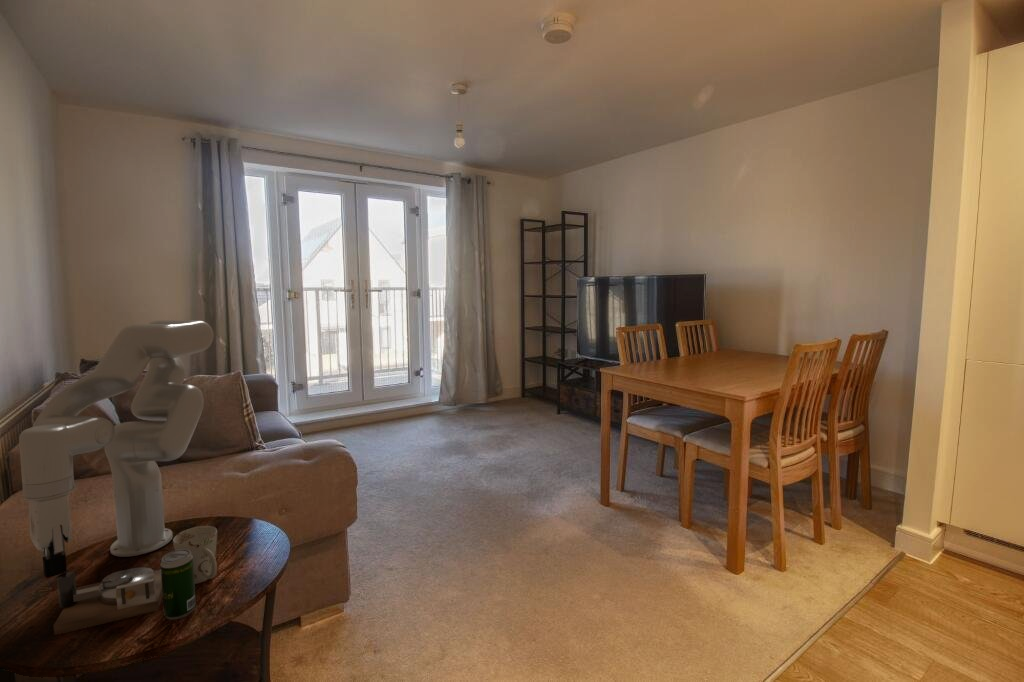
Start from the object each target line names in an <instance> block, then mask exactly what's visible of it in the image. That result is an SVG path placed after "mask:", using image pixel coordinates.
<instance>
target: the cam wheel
mask: <svg viewBox="0 0 1024 682" xmlns="http://www.w3.org/2000/svg"><path fill="white" fill-rule="evenodd" d="M154 571H155V570H154V569H152V568H151V567H145V566H144V567H134V568H130V569H129V568H128V569H124V570H119V571H114V572H112V573H110V574H108V575H106V576H105V577H104V578H103V579H102V580H101V582H102V583H101V584H100V586H96V587H91V588H86V589H82V590H77V591H76V587H77V585H76V584H77V583H76V573H75V572H74V571H66V572H65V573H62V574H59V575H57V576H56V582H57V584H56V585H57V593H58V594H57V595H58V603H59V608H60V609H64V608H67V607H70V606H72V605H74V604H76V603H77V601H80V600H84V599H89V598H93V597H98V596H100V601H101V602H102V603H104V604H109V605H113V604H117V597H116V587H117V586H121V585H125V584H130V583H134V582H139V581H144V580H148V579H153V578H154ZM154 581H155V579H154Z"/></svg>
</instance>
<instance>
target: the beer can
mask: <svg viewBox="0 0 1024 682" xmlns="http://www.w3.org/2000/svg"><path fill="white" fill-rule="evenodd" d="M159 566H160V570H161V581H162V594H163V597H162V605H163V615H164V616H165V618H166V619H167V620H171V621H176V620H181V619H183V618H185V617H188V616H190V615H191V614H192V613H193V612H194V610H195V607H196V606H197V602H196V601H197V599H196V586H195V585H196V584H195V582H194V567H193V555H192V554H191V551H190V550H188V549H180V550H175V549H174V550H173V551H170V552H168V553H166V554H164V555H163V556H162V557H161V561H160V565H159Z"/></svg>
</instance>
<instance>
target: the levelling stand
mask: <svg viewBox="0 0 1024 682" xmlns="http://www.w3.org/2000/svg"><path fill="white" fill-rule="evenodd" d="M153 571H154V578H153V579H148V580H144V581H139V582H134V583H130V584H125V585H121V586H117V587H116V597H117V604H113V605H109V604H104V603H102V602H101V601H100V596H98V597H93V598H89V599H84V600H80V601H77V603H76V604H74V605H72V606H70V607H67V608H62V611H61V612H60V614H59V616H58V617H57V619H56V621H55V622H54V624H53V635H55V634H59V635H61V634H60V633H63V634H67V633H71V632H75V631H79V630H83V628H84V629H87V627H88V628H91V627H95V626H99V625H104V624H108V623H113V622H115V621H120V620H124V618H125V619H128V618H133V617H136V616H140V615H141V616H142V615H144V614H149V613H153V612H154V613H155V612H157V611H159V610H160V608H161V607H160V606H161V603H162V601H163V594H162V581H161V569H158V570H153ZM154 579H155V581H154ZM101 583H102V581H100V582H95V583H91V584H87V585H82V586H78V587H77V586H76V591H77V590H82V589H86V588H91V587H96V586H100V584H101ZM78 629H79V630H78ZM70 631H71V632H70ZM55 636H56V635H55Z"/></svg>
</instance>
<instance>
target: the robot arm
mask: <svg viewBox="0 0 1024 682" xmlns="http://www.w3.org/2000/svg"><path fill="white" fill-rule="evenodd" d="M213 341H214V330H213V328H212V327H211V325H210V324H209V323H208V322H206V321H203V320H199V319H198V320H196V319H195V320H194V319H193V320H189V319H188V320H187V319H184V320H183V319H181V320H180V319H161V320H160V319H159V320H153V321H151V322H149V323H135V324H130V325H127V326H125V327H123V328H122V329H121V330H120V331H119V333H118V334H117V335H116V337H115V338H114V339H113V341H112V343H111V344H110V346H109V348H108V349H107V350H106V351H105V353H104V354H103V356H102V358H101V359H100V361H99V362H98V363H97V365H96V367H94V369H93V370H92V371H91V372H90V373H88V374H86V375H84V376H83V377H81V378H79V379H78V380H76V381H74V382H73V383H71V384H70V385H68V386H67V387H65V388H64V389H61V390H60V391H59V392H57V393H56V394H55V395H54V396H53V397H52V398H51V399H50V400H49V401H48V402H47V403H46V404H45V406H44V408H43V409H42V411H41V412H40V413H39V414H38V415H37V418H36V419H35V421H34V423H33V425H32V427H29V428H25V429H24V430H23V431H22V432H21V433H20V434H19V436H18V437H19V438H18V444H19V447H18V448H19V455H20V468H21V469H20V471H21V481H22V493H23V494H22V496H23V497H22V499H23V500H24V501H26V502H29V504H28V505H29V506H28V509H29V511H28V512H29V537H30V538H29V539H30V540H31V541H32V544H33V545H34V546H35V548H36V550H38V551H42V554H43V556H42V567H43V575H44V577H45V578H46V579H49V578H51V577H55V576H56V577H57V576H59V575H61V574H63V573H66V572H68V571H67V568H68V567H67V557H66V549H65V543H67V544H68V543H69V542H71V541H72V523H71V509H70V503H69V502H70V501H69V494H71V493H72V492H74V491H75V475H74V462H73V458H74V456H76V455H80V454H81V455H82V454H87V453H91V452H92V453H93V452H95V451H99V450H101V449H104V452H105V455H106V458H107V461H108V464H109V467H110V471H111V477H112V487H113V500H114V511H115V513H114V514H115V521H116V522H115V524H116V534H117V539H116V540H115V541H114V542H113V543H112V544H111V545H110V549H109V550H110V554H111V555H113V556H116V557H120V558H123V557H124V558H126V557H135V556H141V555H145V554H148V553H152V552H154V551H156V550H159V549H160V548H162V547H164V546H166V545H167V544H168V543H170V542H171V540H173V538H174V537H173V536H174V535H173V531H172V530H171V529H170V528H166V527H165V515H164V512H165V511H164V499H163V498H164V497H163V488H162V474H161V470H160V468H159V466H158V463H157V462H171V461H174V460H175V461H176V460H177V459H179V458H181V456H183V454H185V452H186V450H187V448H188V446H189V444H190V442H191V440H192V437H193V435H194V432H195V430H196V428H197V425H198V423H199V421H200V418H201V415H202V413H203V410H204V406H205V405H204V404H205V403H204V402H205V400H204V394H203V392H202V390H201V389H200V388H199V387H197V386H196V385H193V384H189V383H183V382H184V381H185V378H186V375H187V370H186V365H185V364H184V362H183V360H182V358H180V357H185V356H190V355H194V354H197V353H202V352H205V351H206V350H207V349H209V348H210V347H211V345H212V343H213ZM148 364H149V366H148ZM147 366H148V370H147V372H146V374H145V376H144V378H143V380H142V381H141V384H140V386H139V387H138V390H137V392H136V394H135V395H134V397H133V400H132V402H131V404H130V405H131V406H130V410H131V411H130V412H131V413H132V415H133V416H134V417H136V418H137V419H140V420H144V421H126V422H125V421H124V422H121V423H118V424H116V425H114V424H113V422H111V420H109V419H107V418H105V417H101V416H94V415H93V416H92V415H89V416H88V415H84V416H83V415H80V413H81V412H83V411H84V410H85V409H87V408H88V407H90V406H92V405H94V404H95V403H98V402H100V401H103V400H106V399H109V398H112V397H115V396H118V395H120V394H124V393H126V392H128V391H130V390H132V389H133V388H134V387H135V386H136V385H137V383H138V381H139V380H140V378H141V376H142V374H143V372H144V371H145V370H146V368H147Z"/></svg>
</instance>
